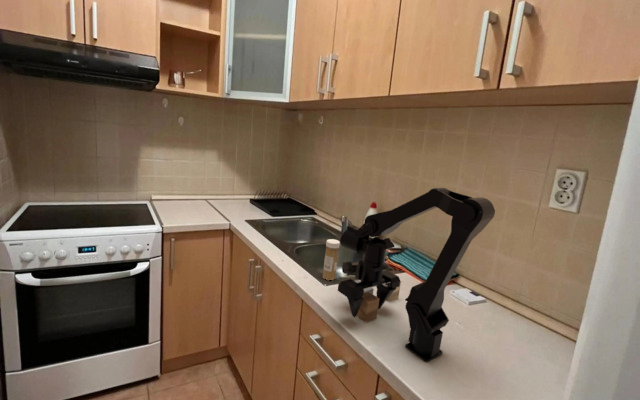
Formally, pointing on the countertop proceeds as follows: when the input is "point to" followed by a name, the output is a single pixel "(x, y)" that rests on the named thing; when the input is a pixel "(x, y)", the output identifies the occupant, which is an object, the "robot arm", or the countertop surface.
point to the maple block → (394, 294)
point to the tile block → (366, 289)
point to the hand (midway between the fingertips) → (366, 312)
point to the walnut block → (368, 307)
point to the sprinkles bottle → (331, 259)
